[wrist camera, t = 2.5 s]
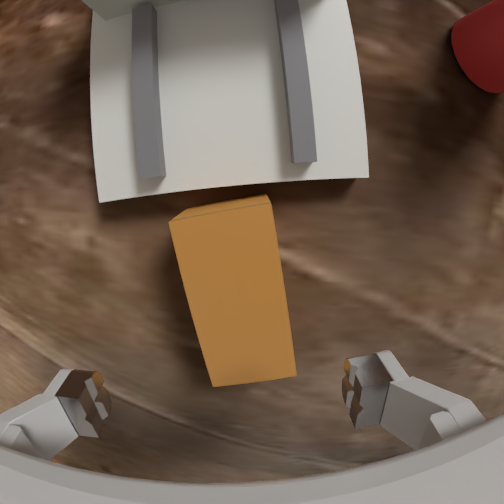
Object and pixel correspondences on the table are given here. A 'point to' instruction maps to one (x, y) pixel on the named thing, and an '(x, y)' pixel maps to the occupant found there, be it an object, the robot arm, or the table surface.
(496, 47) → the beer can
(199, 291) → the cardboard box
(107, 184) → the white l-shaped stand
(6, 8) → the table surface
